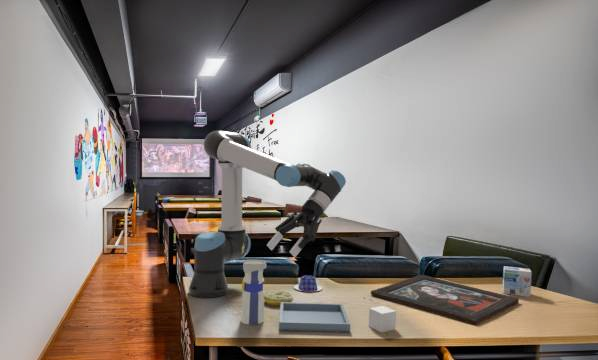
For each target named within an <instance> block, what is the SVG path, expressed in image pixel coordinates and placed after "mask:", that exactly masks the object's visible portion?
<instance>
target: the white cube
mask: <svg viewBox="0 0 598 360" xmlns="http://www.w3.org/2000/svg"><path fill="white" fill-rule="evenodd" d="M396 321H397V311H396V310H395V309H392V308H389V307H388V306H385V305H379V306H373V307H370V308H369V310H368V327H370V328H371V329H374V330H375V331H377V332H380V333H381V332H382V333H385V332H390V331H391V332H392V331H393V330H396V323H397V322H396Z"/></svg>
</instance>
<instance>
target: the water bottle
mask: <svg viewBox="0 0 598 360" xmlns="http://www.w3.org/2000/svg"><path fill="white" fill-rule="evenodd" d="M244 248H245V246H244V244H243V247H242V253H244ZM242 264H243V265H242V270H243V272H244V277H243V279H242V283H241V291H242V295H241V312H240V323H242V324H245V325H250V326H252V325H253V326H255V325H260V324H262V323H264V321H265V300H264V294H265V291H264V282H265V278H264V275H263V273H264V269H266V268H267V267H268V266H267V262H266V261H265V260H262V259H245V260H243V262H242Z"/></svg>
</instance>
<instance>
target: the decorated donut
mask: <svg viewBox="0 0 598 360" xmlns="http://www.w3.org/2000/svg"><path fill="white" fill-rule="evenodd" d="M293 301H294V297H293V295H292V294H291V293H290V292H288V291H285V290H273V291H267V292H266V293H265V292H264V303H265V304H266V305H269V306H273V307H280V305H281V302H293Z"/></svg>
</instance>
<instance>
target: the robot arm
mask: <svg viewBox="0 0 598 360" xmlns="http://www.w3.org/2000/svg"><path fill="white" fill-rule="evenodd" d="M203 148H204V151H205V153H206V154H207V155H208V156H209V157H210V158H212V159H215V160H217V161H218V162H217V163H218V166H219V167H220V168H221V225H219V227H218V228H217V231H206V232H202V233H200V234H198V235H197V236H196V237H195V241H194V245H193V246H194V247H193V248H194V254H193V255H194V260H193V261H194V262H193V263H194V264H193V268H194V269H193V275H192V278H191V280H190V284H189V286H188V294H189V295H190V296H193V297H195V298H204V299H206V298H207V299H208V298H210V299H211V298H218V297H219V298H220V297H223V296H225V295H227V294H228V293H229V286H228V282H227V278H226V275H225V263H229V262H233V261H238V260H240V259H243V258H244V257H245V256H246V255H248V253H249V252H250V249H251V246H252V245H251V244H252V241H251V238H250V237H249V235H248V233H247V232H246V227H245V226H244V225H243V168H244V169H247V170H249V171H251V172H254V173H257V174H259V175H261V176H264V177H266V178H269V179H271V180H273V181H276V182H277V183H278V184H279V185H280V186H282V187H287V188H291V187H307V188H310V189H312V190H313V192H312V194H311V195H310V196H309V197H308V199H306V201H305V202H304V203H303V205H302V206H301V212H300V213H298V212H297V211H294V212H293V213H292V214H291V215H290V216H289V217H287V218H286V219H285V220H284V221H282V222H281V223H279V224H278V225H277V226H276V227H274V230H276V232H275V234H274V235H273V236H272V237H271V239H270V240H269V241H268V242H267V244H266V246H267V247H268V248H269V250H270V251H273V250H274V249H275V247H276V246H277V245H278V244H279V243H280V242H281V240H282V239H283V238H284V235H285V234H287V233H288V232H290V231H292V230H294V229H297V228H299V227H303V234H302V235H301V236H300V238H298V240H297V241H296V243H294V245H293V246H292V248H291V249H290V250H289V254H291V256H293V258H297V255H299V253H301V251H302V250H303V249H304V248H305V246H306V245H307V243H310V242H315V240H316V237H317V233H318V231H319V226H320V225H321V223H322V218H321V217H322V216H323V215H324V212H326V211H327V209H328V207H329V206H330V205H331V204H332V202H333V201H334V200H335V199H336V198H337V196H338V195H339V194H340V193H341V191H343V188H344V187H345V185H346V177H345V176H344V175H343V174H342V173H341V172H340V171H338V170H330V171H329V172H328V173H326V172H323V171H322V170H319V169H317V168H315V167H314V166H311V165H310V164H309V163H308V164H307V163H304V162H298V163H297V164H296V165H295V164H292V163H289V162H286V161H284V160H281V159H279V158H276V157H273V156H271V155H269V154H266V153H263V152H261V151H258V150H255V149H253V148H252V145H251V141H250V140H249V138H248V137H247V136H245V135H244V134H241V133H238V132H232V131H225V130H213V131H211V132H209V133H208V134H207V135H206V137H205V138H204V142H203ZM243 244H244V246H245V248H244V253H242V247H243Z"/></svg>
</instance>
